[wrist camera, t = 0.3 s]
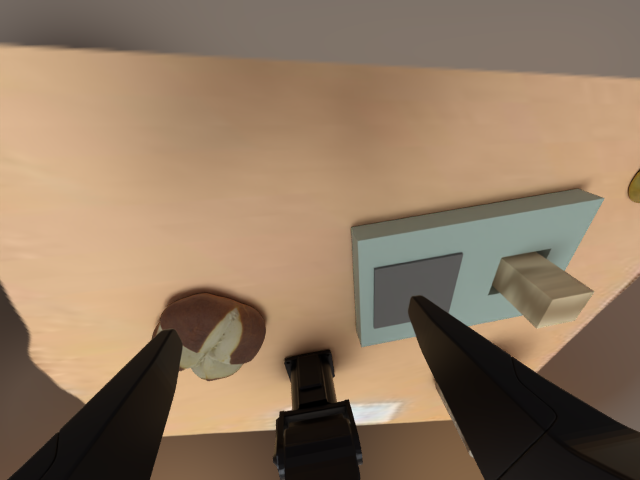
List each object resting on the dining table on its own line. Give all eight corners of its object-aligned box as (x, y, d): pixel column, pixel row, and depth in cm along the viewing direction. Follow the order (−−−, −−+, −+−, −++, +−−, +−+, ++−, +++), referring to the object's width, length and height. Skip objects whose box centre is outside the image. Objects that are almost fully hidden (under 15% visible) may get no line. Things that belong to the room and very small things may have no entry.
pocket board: (526, 297, 35) (544, 313, 33) (356, 330, 34) (362, 349, 31) (578, 188, 26) (607, 199, 24) (351, 227, 25) (358, 242, 23)
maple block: (512, 269, 32) (574, 320, 25) (481, 274, 31) (536, 328, 25) (522, 242, 29) (594, 291, 23) (489, 248, 29) (552, 299, 22)
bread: (280, 317, 31) (281, 355, 27) (222, 363, 34) (214, 403, 30) (197, 270, 25) (182, 308, 21) (138, 330, 29) (114, 373, 25)
